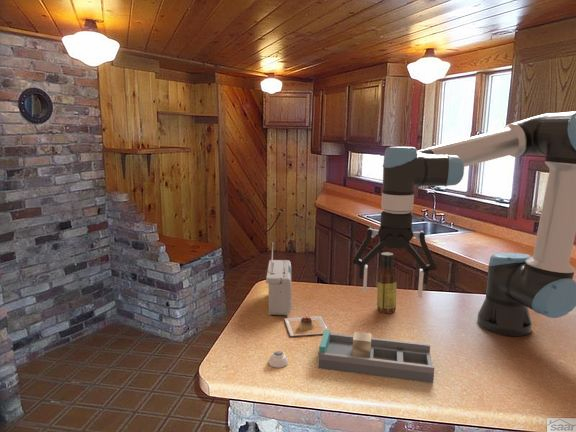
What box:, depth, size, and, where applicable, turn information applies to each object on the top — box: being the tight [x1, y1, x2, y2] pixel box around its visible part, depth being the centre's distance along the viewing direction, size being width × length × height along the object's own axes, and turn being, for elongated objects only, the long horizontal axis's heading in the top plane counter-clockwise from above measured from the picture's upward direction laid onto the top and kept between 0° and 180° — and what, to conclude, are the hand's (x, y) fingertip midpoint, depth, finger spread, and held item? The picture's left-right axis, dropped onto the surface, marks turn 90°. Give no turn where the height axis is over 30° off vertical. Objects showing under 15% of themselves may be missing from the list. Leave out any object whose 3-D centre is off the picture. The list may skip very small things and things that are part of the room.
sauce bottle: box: [376, 251, 397, 314], centre depth 143 cm, size 6×6×20 cm
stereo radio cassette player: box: [265, 242, 292, 317], centre depth 148 cm, size 21×8×20 cm, turn 179°
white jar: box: [268, 350, 289, 369], centre depth 112 cm, size 5×3×5 cm
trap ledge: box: [317, 328, 435, 384], centre depth 112 cm, size 28×12×6 cm, turn 77°
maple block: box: [352, 331, 372, 358], centre depth 112 cm, size 4×4×4 cm
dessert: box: [284, 314, 329, 337], centre depth 132 cm, size 12×12×5 cm
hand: (391, 293), depth 109 cm, fingers open, 13 cm apart
